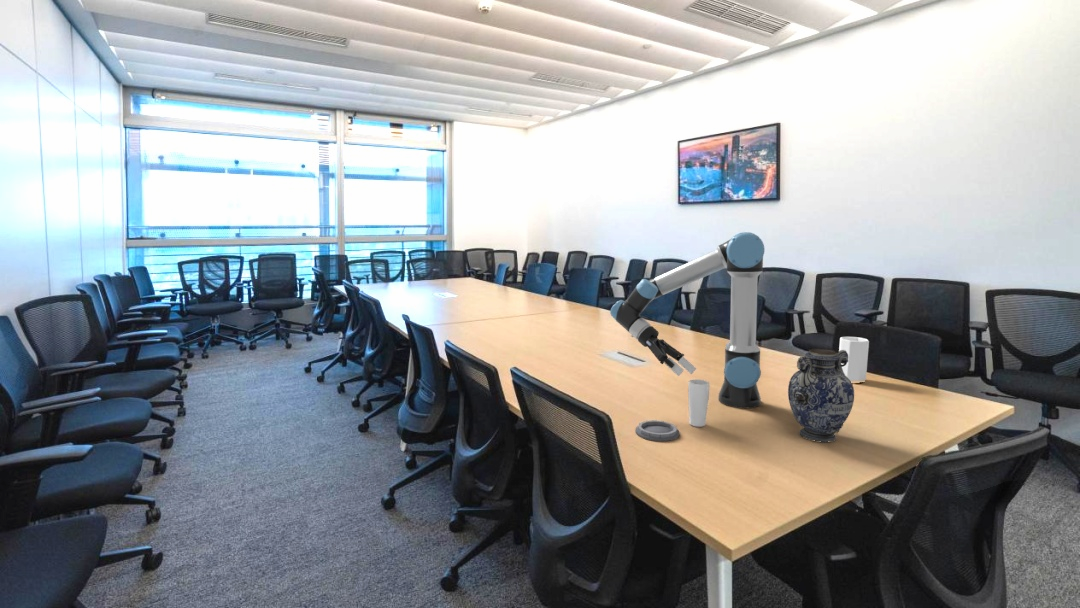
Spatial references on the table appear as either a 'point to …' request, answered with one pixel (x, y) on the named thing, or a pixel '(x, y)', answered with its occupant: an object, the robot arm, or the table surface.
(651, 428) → the coaster
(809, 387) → the decorative vase
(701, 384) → the drinking glass
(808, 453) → the table surface
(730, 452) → the table surface
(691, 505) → the table surface
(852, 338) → the cup
